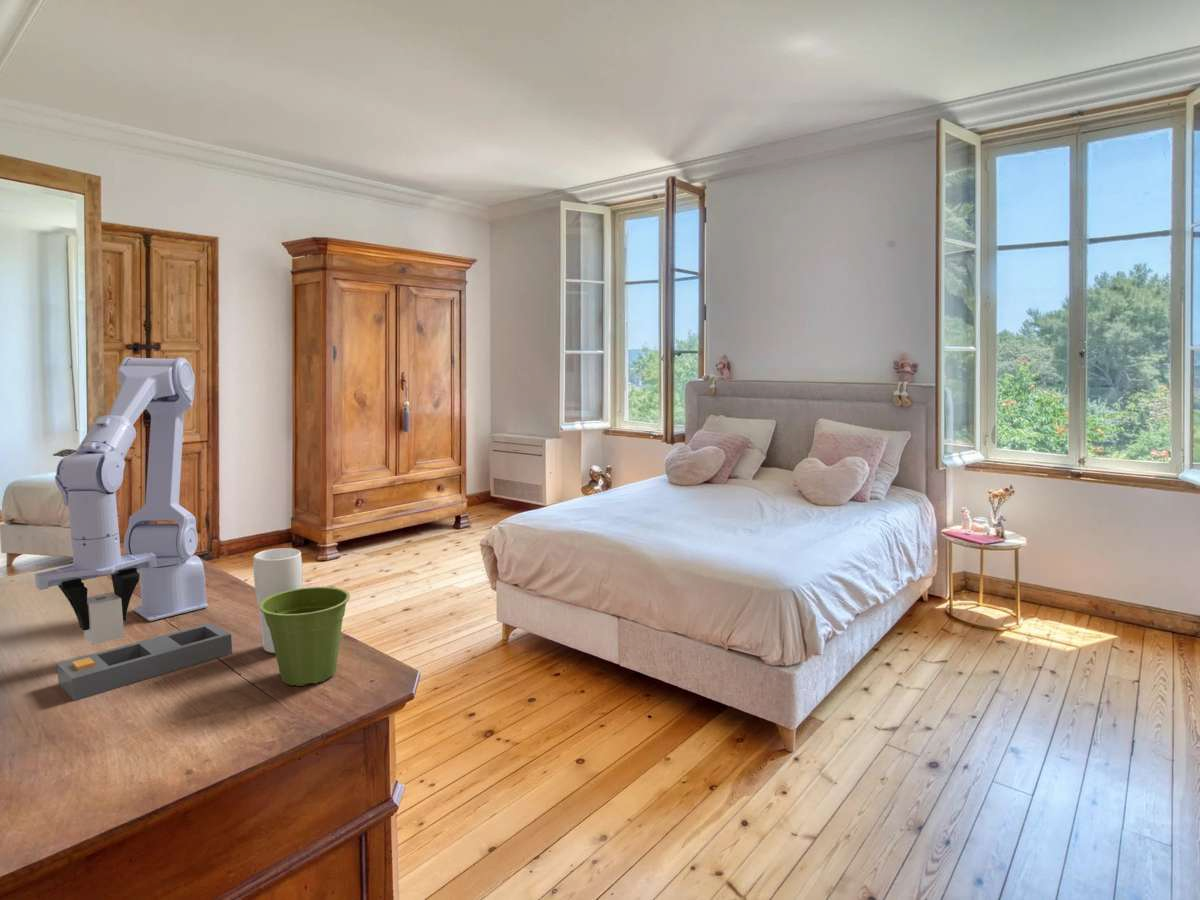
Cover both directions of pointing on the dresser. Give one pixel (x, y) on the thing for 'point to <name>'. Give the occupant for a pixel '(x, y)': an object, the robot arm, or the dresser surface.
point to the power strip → (142, 660)
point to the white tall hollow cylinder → (275, 580)
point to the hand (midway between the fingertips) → (103, 623)
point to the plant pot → (306, 631)
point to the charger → (104, 618)
